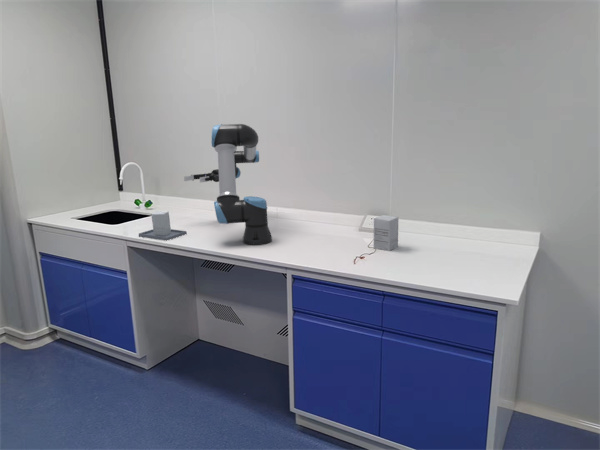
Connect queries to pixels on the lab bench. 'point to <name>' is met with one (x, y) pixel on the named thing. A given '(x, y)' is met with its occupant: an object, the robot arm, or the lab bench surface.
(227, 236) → the lab bench surface
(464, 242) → the lab bench surface
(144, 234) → the tray
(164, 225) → the supplement box
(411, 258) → the lab bench surface
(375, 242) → the supplement box
